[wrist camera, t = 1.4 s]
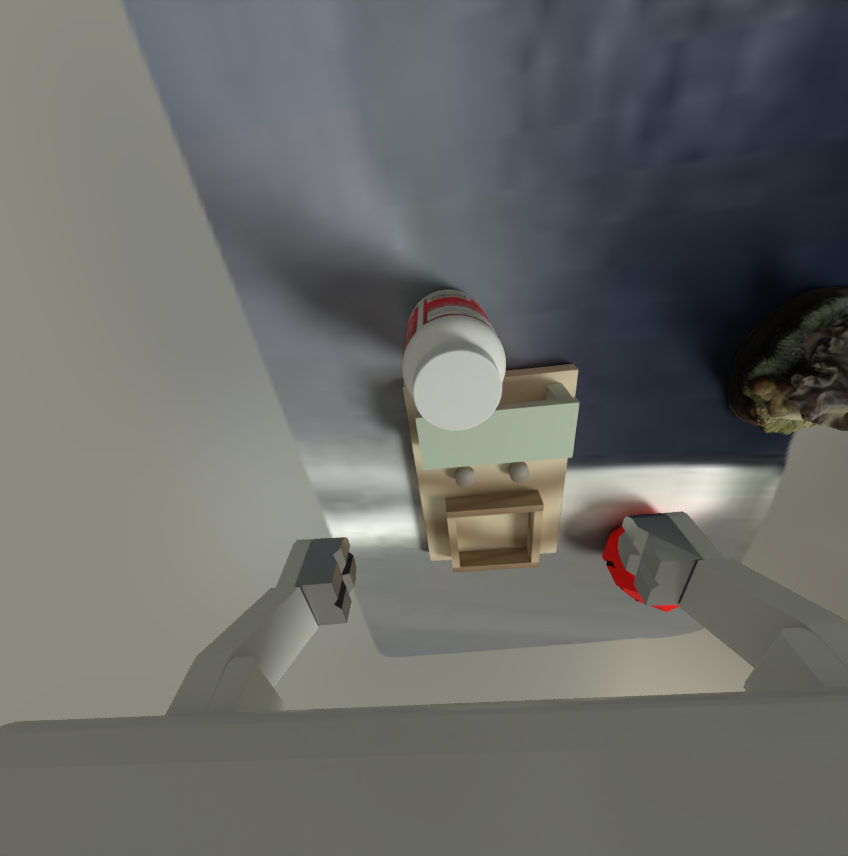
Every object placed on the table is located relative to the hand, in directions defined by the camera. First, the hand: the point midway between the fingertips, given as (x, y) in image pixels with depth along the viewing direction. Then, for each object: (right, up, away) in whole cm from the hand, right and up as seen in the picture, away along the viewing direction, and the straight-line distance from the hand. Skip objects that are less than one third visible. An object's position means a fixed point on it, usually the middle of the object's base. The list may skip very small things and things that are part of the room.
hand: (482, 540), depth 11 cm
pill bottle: (0, +11, +17) cm, 21 cm away
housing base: (+5, -1, +25) cm, 25 cm away
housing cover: (+4, +4, +20) cm, 21 cm away
